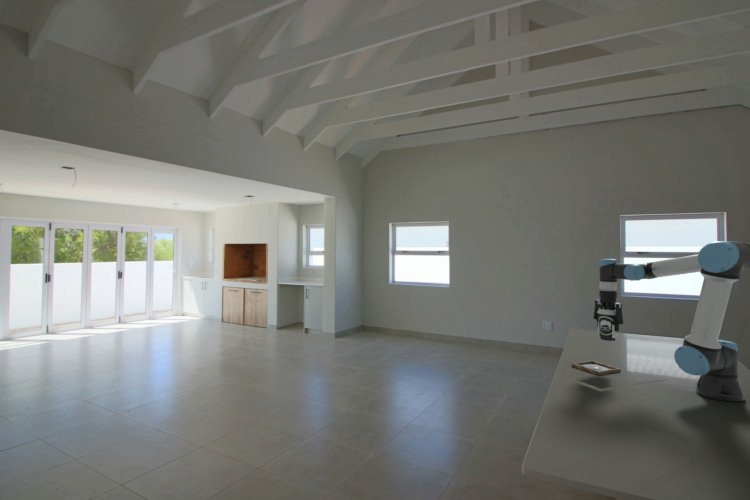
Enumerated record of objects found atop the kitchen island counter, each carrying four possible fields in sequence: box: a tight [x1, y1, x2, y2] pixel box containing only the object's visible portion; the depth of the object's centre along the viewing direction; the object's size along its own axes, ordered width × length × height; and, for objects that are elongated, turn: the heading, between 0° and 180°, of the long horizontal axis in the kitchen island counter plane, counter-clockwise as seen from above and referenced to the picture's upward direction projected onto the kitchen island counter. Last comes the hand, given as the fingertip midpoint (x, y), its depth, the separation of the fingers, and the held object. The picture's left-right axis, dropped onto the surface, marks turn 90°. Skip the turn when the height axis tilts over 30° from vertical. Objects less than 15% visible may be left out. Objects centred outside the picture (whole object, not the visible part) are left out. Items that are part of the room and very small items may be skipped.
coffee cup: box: [597, 308, 617, 342], centre depth 196 cm, size 10×10×15 cm
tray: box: [571, 360, 622, 376], centre depth 198 cm, size 16×14×3 cm
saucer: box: [582, 364, 610, 371], centre depth 198 cm, size 13×13×1 cm
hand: (607, 335), depth 196 cm, fingers closed on coffee cup, 7 cm apart
